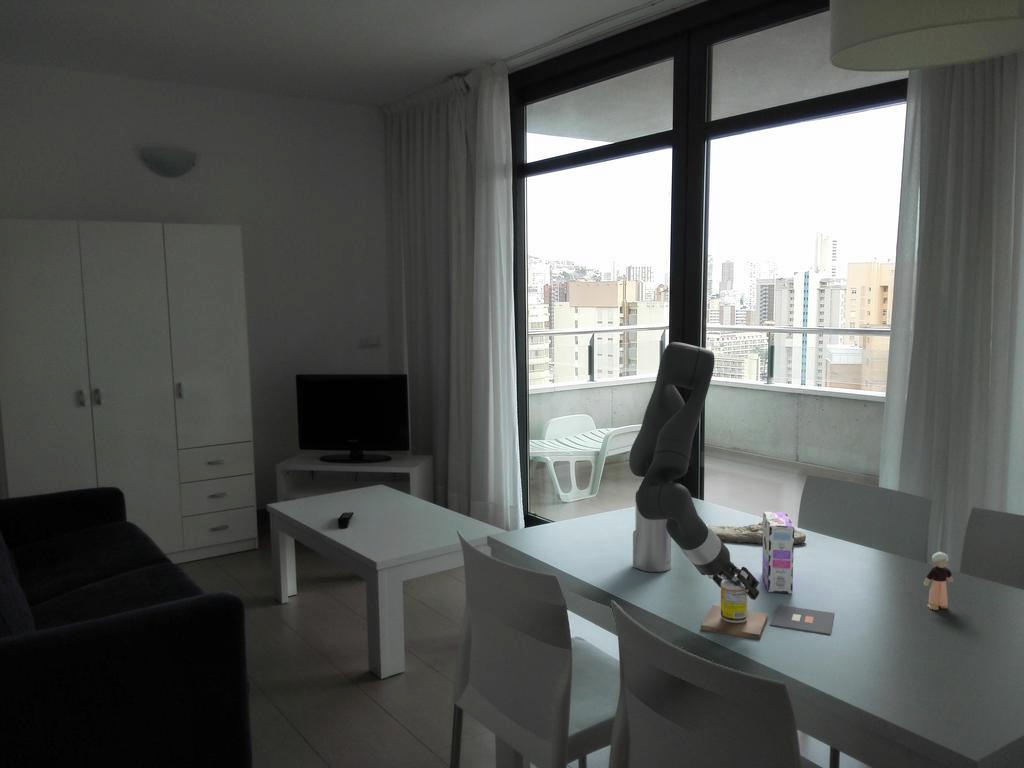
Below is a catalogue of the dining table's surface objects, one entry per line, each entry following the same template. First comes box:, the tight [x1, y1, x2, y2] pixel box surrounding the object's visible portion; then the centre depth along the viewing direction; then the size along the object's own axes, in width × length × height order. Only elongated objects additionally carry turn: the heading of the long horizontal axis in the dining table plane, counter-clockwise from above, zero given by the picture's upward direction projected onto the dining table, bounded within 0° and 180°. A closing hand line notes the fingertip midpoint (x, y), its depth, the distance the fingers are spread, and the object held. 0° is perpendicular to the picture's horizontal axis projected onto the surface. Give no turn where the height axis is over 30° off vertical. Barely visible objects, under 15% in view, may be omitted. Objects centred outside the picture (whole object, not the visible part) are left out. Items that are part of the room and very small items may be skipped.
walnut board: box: [700, 605, 769, 640], centre depth 170 cm, size 12×12×1 cm
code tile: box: [769, 604, 835, 636], centre depth 172 cm, size 12×12×1 cm
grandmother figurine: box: [923, 551, 954, 611], centre depth 178 cm, size 8×4×13 cm, turn 117°
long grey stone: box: [707, 521, 807, 545], centre depth 231 cm, size 35×5×10 cm
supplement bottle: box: [720, 574, 749, 623], centre depth 170 cm, size 6×6×10 cm
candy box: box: [761, 511, 795, 594], centre depth 193 cm, size 14×6×16 cm, turn 168°
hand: (739, 590), depth 170 cm, fingers open, 8 cm apart
